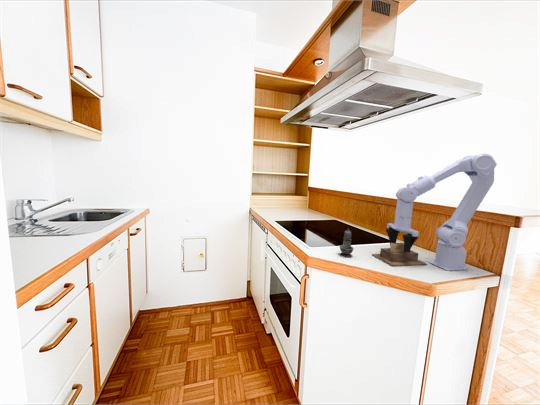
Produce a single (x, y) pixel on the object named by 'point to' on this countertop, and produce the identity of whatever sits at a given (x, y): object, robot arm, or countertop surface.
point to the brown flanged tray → (398, 258)
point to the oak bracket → (397, 247)
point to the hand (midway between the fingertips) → (399, 248)
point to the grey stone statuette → (346, 245)
